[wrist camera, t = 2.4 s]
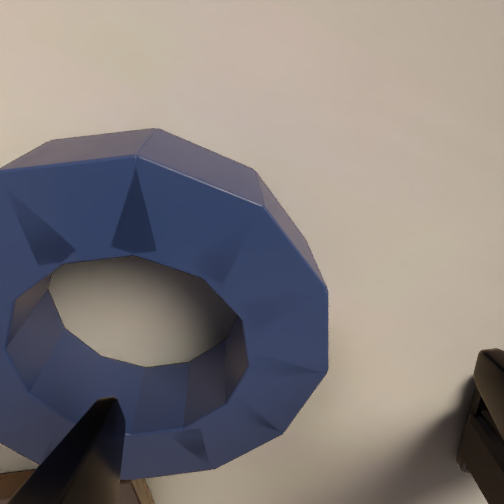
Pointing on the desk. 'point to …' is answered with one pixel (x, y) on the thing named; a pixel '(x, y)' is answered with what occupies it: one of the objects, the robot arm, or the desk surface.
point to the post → (128, 500)
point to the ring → (171, 255)
